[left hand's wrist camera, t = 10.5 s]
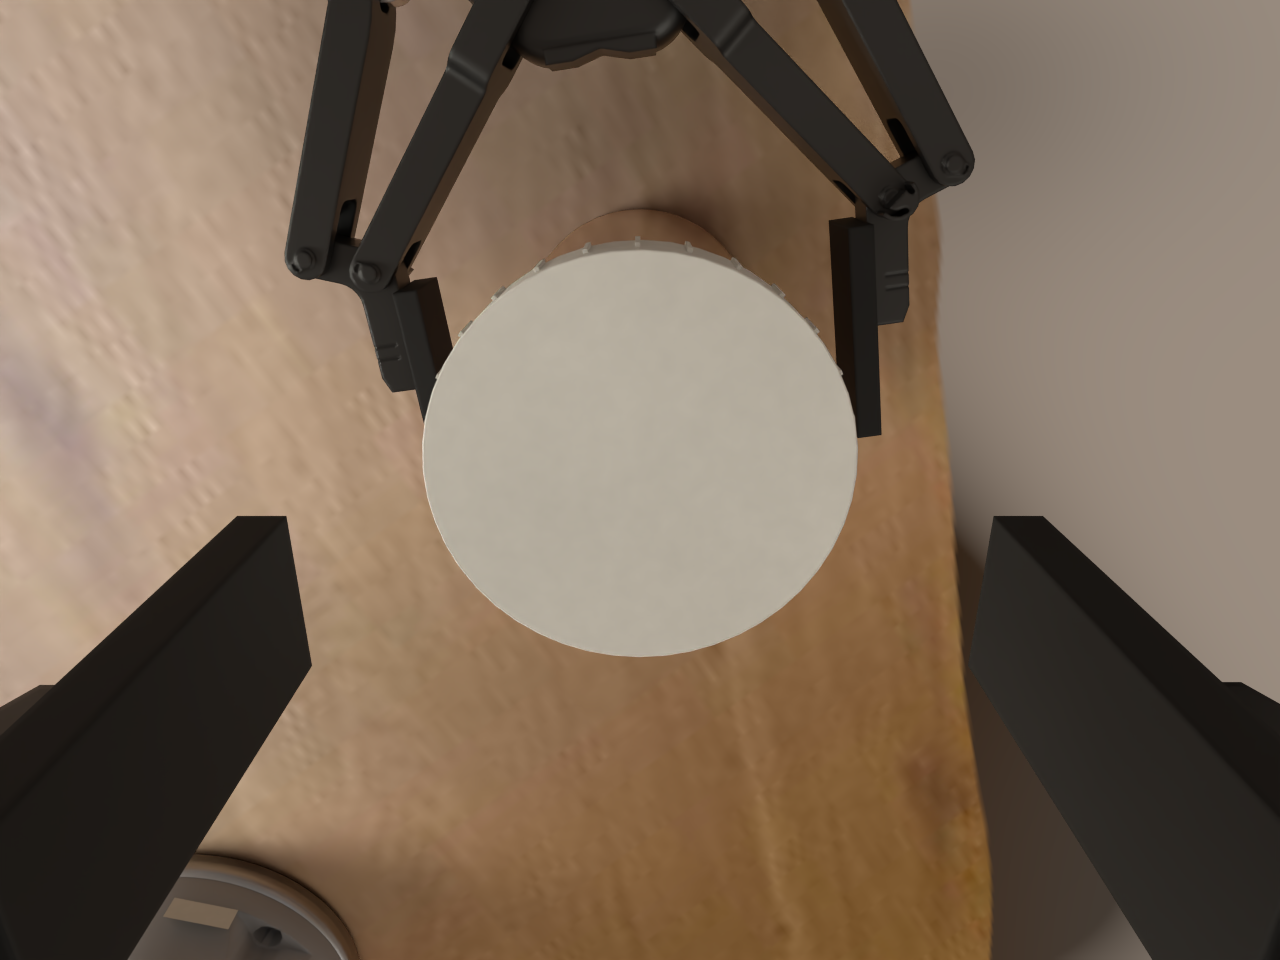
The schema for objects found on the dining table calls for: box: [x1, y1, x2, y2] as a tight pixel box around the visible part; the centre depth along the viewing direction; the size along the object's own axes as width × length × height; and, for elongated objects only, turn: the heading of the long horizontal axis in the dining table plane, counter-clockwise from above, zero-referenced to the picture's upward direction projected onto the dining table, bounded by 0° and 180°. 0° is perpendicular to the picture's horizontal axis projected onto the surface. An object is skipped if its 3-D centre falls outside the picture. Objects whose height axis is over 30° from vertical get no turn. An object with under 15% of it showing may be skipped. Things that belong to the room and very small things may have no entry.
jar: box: [545, 209, 732, 262], centre depth 26 cm, size 9×9×15 cm
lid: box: [422, 236, 858, 657], centre depth 19 cm, size 10×10×2 cm
